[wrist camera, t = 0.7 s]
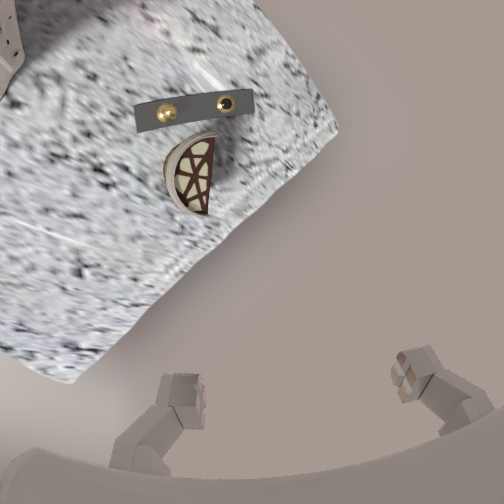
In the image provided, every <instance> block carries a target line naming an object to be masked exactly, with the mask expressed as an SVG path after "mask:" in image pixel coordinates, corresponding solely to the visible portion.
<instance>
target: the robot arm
mask: <svg viewBox="0 0 504 504" xmlns="http://www.w3.org/2000/svg"><path fill="white" fill-rule="evenodd" d="M0 1H1V2H0V99H1V98H2V96H3V95H4V93H5V91H6V89H7V86H8V84H9V82H10V80H11V78H12V76H13V75H14V74H15V73H16V72H17V70H18V69H19V68H20V67H21V66H22V64H23V63H24V61H25V54H24V50H23V45H22V41H21V36H20V31H19V26H18V20H17V14H16V7H15V0H0ZM17 52H18V55H17V56H15V54H16V53H17ZM396 358H397V360H398V361H397V362H396V363H394V364H393V367H392V369H391V377H392V380H393V383H394V385H396V386H398V387H399V389H398V394H399V397H400V399H401V401H402V403H407V402H411V401H414V400H418V399H419V401H420V402H421V403H422V404H424V405H425V406H426V407H427V408H429V409H430V410H431V411H432V412H433V413H435V414H436V415H437V416H438V417H440V418H441V419H442V420H443V421H444V422H445V423H444V425H443V426H442V427H441V428H440V430H439V434H440V437H439V438H437V439H434V440H432V441H429V442H427V443H424V444H422V445H419V446H416V447H413V448H410V449H408V450H405V451H402V452H399V453H395V454H392V455H389V456H386V457H382V458H379V459H375V460H371V461H367V462H363V463H360V464H355V465H351V466H346V467H341V468H337V469H331V470H326V471H320V472H314V473H307V474H300V475H292V476H284V477H272V478H259V479H258V478H257V479H194V478H180V477H171V470H170V468H169V467H168V466H167V465H166V464H165V463H164V461H163V460H162V457H163V456H164V455H165V454H166V453H167V451H168V450H169V449H170V448H171V446H172V445H173V444H174V442H175V441H176V440H177V439H178V437H179V436H180V435H181V433H182V432H183V431H184V430H183V429H204V426H205V414H204V411H203V409H204V408H205V407H206V392H205V387H204V385H203V384H202V376H201V374H186V373H163V374H162V376H161V379H160V385H159V389H158V394H157V398H156V403H155V406H151V407H150V408H148V409H147V410H146V411H145V413H143V414H142V415H141V416H140V417H139V418H138V419H137V420H136V421H135V422H134V423H133V424H132V425H131V426H130V427H129V428H128V429H127V430H125V431H124V432H123V433H122V434H121V435H120V436H119V437H118V438H117V439H116V440H115V443H114V447H113V451H112V455H111V460H110V464H109V467H106V466H102V465H97V464H94V463H90V462H86V461H82V460H78V459H75V458H72V457H68V456H65V455H62V454H58V453H55V452H53V451H50V450H47V449H44V448H41V447H33V448H31V449H29V450H27V451H26V452H24V453H22V454H21V455H19V456H18V457H17V458H15V459H14V460H12V461H11V463H10V464H9V465H8V467H7V469H6V471H5V473H4V475H3V478H2V481H1V484H0V504H504V405H503V406H502V407H500V408H498V409H496V410H495V409H494V407H493V405H492V403H491V401H490V400H489V398H488V396H487V394H486V393H485V391H484V390H482V389H481V388H479V387H477V386H476V385H474V384H472V383H470V382H469V381H466V380H465V379H463V378H462V377H460V376H458V375H457V374H455V373H453V372H451V371H450V370H445V368H444V367H443V366H442V363H441V362H440V360H439V359H438V357H437V355H436V354H435V352H434V351H433V349H432V347H431V346H429V345H426V346H422V347H417V348H413V349H409V350H405V351H401V352H399V353H398V355H397V357H396Z"/></svg>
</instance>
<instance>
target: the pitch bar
mask: <svg viewBox="0 0 504 504" xmlns="http://www.w3.org/2000/svg"><path fill="white" fill-rule="evenodd" d="M133 108H134V115H135V122H136V128H137V133H140V132H144V131H149V130H153V129H158V128H162V127H167V126H172V125H177V124H183V123H188V122H194V121H200V120H206V119H213V118H219V117H227V116H235V115H243V114H252V113H254V109H253V100H252V91H251V90H237V91H225V92H215V93H207V94H199V95H191V96H184V97H178V98H172V99H166V100H161V101H155V102H150V103H145V104H140V105H136V106H133Z"/></svg>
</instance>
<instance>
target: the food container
mask: <svg viewBox="0 0 504 504" xmlns="http://www.w3.org/2000/svg"><path fill="white" fill-rule="evenodd" d="M215 137H218V136H217V133H215V132H203V133H199V134H196V135H193V136H191V137H189V138H187V139H186V140H185V141H183V142H182V143H181V144H179V145H177V146H176V147H175V148H173V149H172V150H171V151H170V153H169V154H168V155H167V157H166V160H165V162H164V167H163V173H164V178H165V180H166V183H167V188H168V191H169V194H170V196H171V198H172V199H173V201H174V202H175V203H176V205H177V206H178V207H179V208H181V209H182V210H183V211H185V212H187V213H189V214H191V215H194V216H198V217H204V218H209V217H210V216H209V215H208V200H209V191H210V184H211V178H212V161H213V151H214V142H215Z"/></svg>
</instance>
